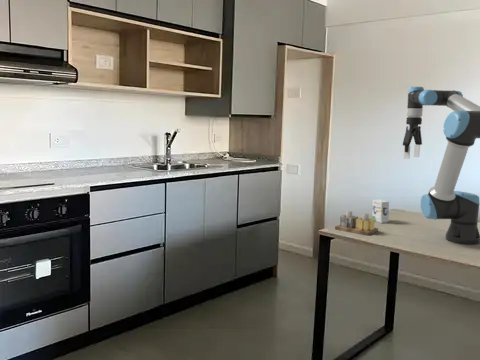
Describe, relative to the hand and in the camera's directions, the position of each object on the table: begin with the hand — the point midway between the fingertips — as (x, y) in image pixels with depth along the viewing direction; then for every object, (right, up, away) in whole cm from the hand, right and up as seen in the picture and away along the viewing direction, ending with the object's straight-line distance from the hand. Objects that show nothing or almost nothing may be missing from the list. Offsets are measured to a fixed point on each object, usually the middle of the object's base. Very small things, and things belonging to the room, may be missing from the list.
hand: (411, 157), depth 261 cm
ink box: (-12, -35, +15) cm, 40 cm away
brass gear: (-27, -36, -10) cm, 46 cm away
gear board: (-31, -37, -7) cm, 49 cm away
